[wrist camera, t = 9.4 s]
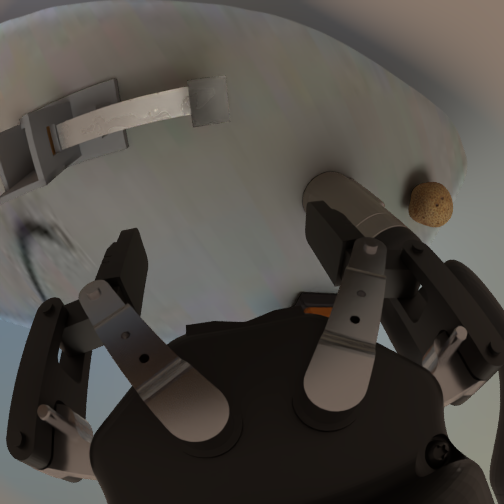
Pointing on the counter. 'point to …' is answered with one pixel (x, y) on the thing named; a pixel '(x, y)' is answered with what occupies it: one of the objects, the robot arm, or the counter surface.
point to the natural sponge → (431, 204)
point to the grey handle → (152, 111)
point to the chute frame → (54, 141)
